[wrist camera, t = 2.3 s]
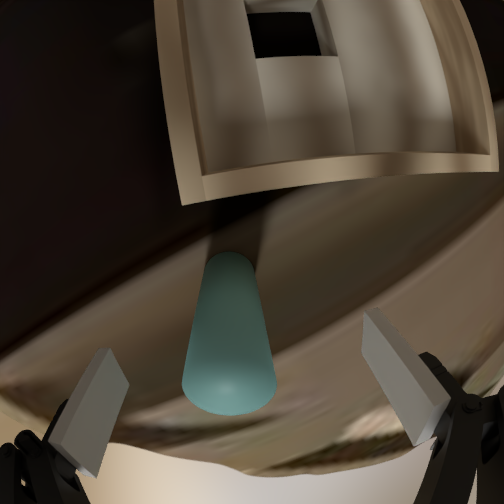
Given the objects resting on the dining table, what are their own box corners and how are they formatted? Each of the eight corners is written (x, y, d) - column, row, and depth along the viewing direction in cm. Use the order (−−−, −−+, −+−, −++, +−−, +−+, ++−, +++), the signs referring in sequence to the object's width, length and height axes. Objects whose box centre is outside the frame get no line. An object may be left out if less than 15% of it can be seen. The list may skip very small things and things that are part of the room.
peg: (209, 301, 23) (197, 418, 11) (199, 256, 21) (169, 359, 10) (258, 293, 23) (280, 408, 11) (250, 247, 21) (271, 345, 10)
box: (198, 189, 20) (182, 205, 13) (168, -36, 12) (153, -80, 6) (444, 163, 20) (498, 171, 13) (393, -30, 13) (426, -58, 6)
